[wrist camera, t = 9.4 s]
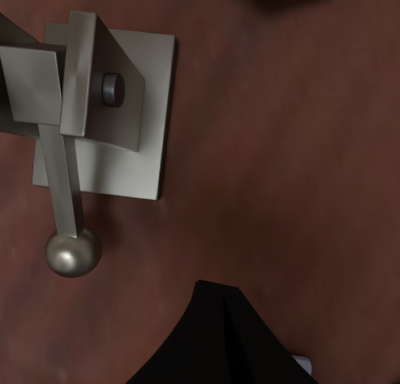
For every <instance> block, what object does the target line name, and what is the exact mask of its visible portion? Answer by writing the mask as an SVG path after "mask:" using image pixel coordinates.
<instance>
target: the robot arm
mask: <svg viewBox="0 0 400 384" xmlns="http://www.w3.org/2000/svg"><path fill="white" fill-rule="evenodd" d="M311 372H312V365H311V363H310V361H309V359H308V358H306V357H301V356H294V355H291V354H290V353H289V352H288V351H287V349H286V348H285V347H284V346H283V345H282V344H281V343H280V341H279V340H278V339H277V338H276V336H275V335H274V334H273V333H272V332H271V330H270V329H269V328H268V327H267V325H266V324H265V323H264V321H263V320H262V319H261V317H260V316H259V315H258V313H257V312H256V311H255V309H254V308H253V307H252V305H251V304H250V303H249V301H248V300H247V298H246V297H245V296H244V294H243V293H242V292H241V290H240V289H239V288H238V287H233V286H228V285H224V284H219V283H214V282H209V281H204V280H199V281H197V282H196V283H195V287H194V291H193V295H192V299H191V301H190V303H189V305H188V307H187V308H186V310H185V312H184V314H183V316H182V317H181V319H180V320H179V322H178V323H177V325H176V326H175V328H174V329H173V331H172V332H171V333H170V335H169V336H168V337H167V339H166V340H165V341H164V343H163V344H162V345H161V346H160V348H159V349H158V350H157V351H156V352H155V353H154V355H153V356H152V357H151V358H150V359H149V360H148V361H147V362H146V363H145V364H144V365H143V366H142V367H141V368H140V369H139V370H138V372H137V373H136V374H135V375H134V376H133V377H132V378H130V379H129V380H128V381H127V382H126V383H125V384H319V383H318V382H317V381H316V380H315V379H314V378H313V377H312V376H311Z"/></svg>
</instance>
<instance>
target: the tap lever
mask: <svg viewBox="0 0 400 384" xmlns="http://www.w3.org/2000/svg"><path fill="white" fill-rule="evenodd" d="M66 47H67V46H66V45H57V44H47V43H38V42H32V43H21V44H9V45H0V59H1V64H2V69H3V73H4V78H5V82H6V87H7V92H8V96H9V101H10V105H11V110H12V115H13V119H14V121H20V122H28V123H37V124H38V128H39V134H40V139H41V145H42V151H43V156H44V162H45V167H46V173H47V179H48V184H49V190H50V195H51V201H52V206H53V212H54V218H55V223H56V229H57V230H56V231H55V232H54V233H53V234H52V235H51V236H50V237H49V239H48V241H47V243H46V246H45V259H46V262H47V264H48V266H49V267H50V269H51V270H52V271H53V272H55V273H56V274H58V275H60V276H62V277H67V278H76V277H81V276H83V275H86V274H87V273H89V272H90V271H92V270H93V269H94V268H95V267H96V266H97V264H98V263H99V261H100V259H101V256H102V250H103V247H102V242H101V239H100V237H99V235H98V234H97V233H96V231H94V230H93V229H92V228H91V227H89V226H86V225H85V222H84V214H83V206H82V197H81V189H80V181H79V173H78V164H77V156H76V148H75V140H74V138H70V137H66V136H62V135H60V134H59V125H60V114H61V102H62V91H63V80H64V69H65V58H66Z"/></svg>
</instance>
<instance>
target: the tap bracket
mask: <svg viewBox="0 0 400 384" xmlns="http://www.w3.org/2000/svg"><path fill="white" fill-rule="evenodd" d="M32 42H38V43H40V42H39V41H37V40H36V39H35V38H33V37H32V36H31V35H29V34H28V33H27V32H25V31H24V30H23V29H21V28H20V27H19V26H17V25H16V24H15V23H13V22H12V21H11V20H9V19H8V18H7V17H5V16H4V15H3V14H1V13H0V45H9V44H21V43H32ZM44 43H47V44H57V45H66V46H67V47H66V58H65V69H64V80H63V91H62V102H61V114H60V125H59V134H60V135H62V136H66V137H70V138H74V140H75V148H76V156H77V164H78V173H79V181H80V189H81V192H88V193H96V194H104V195H112V196H120V197H128V198H136V199H144V200H152V201H157V200H160V198H161V190H162V181H163V172H164V163H165V154H166V145H167V136H168V127H169V118H170V110H171V101H172V92H173V83H174V74H175V65H176V56H177V47H178V43H177V39H176V36H175V35H169V34H159V33H149V32H140V31H130V30H120V29H110V28H107V27H106V26H105V24H104V23H103V22H102V20H101V19H100V18H99V16H98V15H97V14H96V13H91V12H81V11H70V13H69V24H62V23H52V22H46V23H45V33H44ZM0 132H4V133H9V134H14V135H19V136H24V137H29V138H34V139H35V151H34V163H33V174H32V185H33V186H40V187H48V188H49V184H48V179H47V173H46V167H45V162H44V156H43V151H42V145H41V139H40V134H39V128H38V124H37V123H28V122H20V121H14V119H13V115H12V110H11V105H10V101H9V96H8V92H7V87H6V82H5V78H4V73H3V69H2V64H1V59H0Z"/></svg>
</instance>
